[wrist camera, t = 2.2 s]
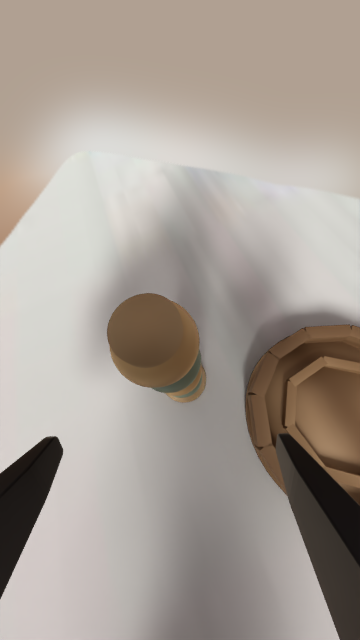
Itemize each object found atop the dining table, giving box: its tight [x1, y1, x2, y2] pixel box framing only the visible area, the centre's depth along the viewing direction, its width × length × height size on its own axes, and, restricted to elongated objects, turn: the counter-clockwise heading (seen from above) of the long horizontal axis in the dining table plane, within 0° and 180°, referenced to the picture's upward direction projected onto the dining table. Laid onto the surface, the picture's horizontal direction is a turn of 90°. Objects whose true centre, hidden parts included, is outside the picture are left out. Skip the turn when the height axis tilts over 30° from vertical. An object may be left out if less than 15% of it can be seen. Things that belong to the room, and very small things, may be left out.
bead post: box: [107, 293, 206, 402], centre depth 13 cm, size 4×4×14 cm
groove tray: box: [245, 325, 360, 505], centre depth 16 cm, size 14×14×2 cm
